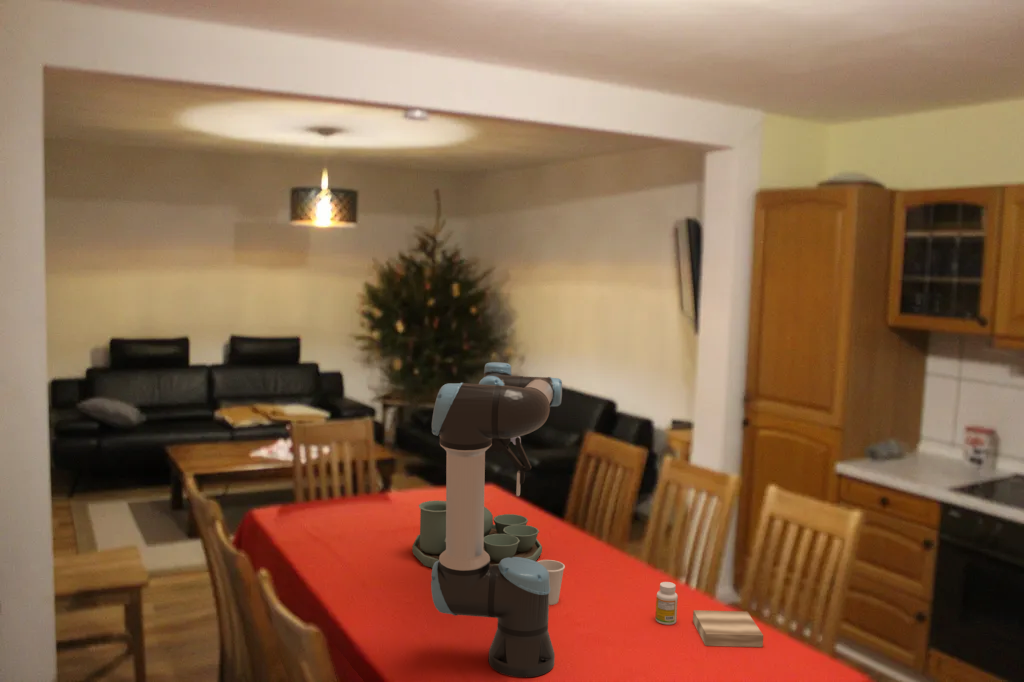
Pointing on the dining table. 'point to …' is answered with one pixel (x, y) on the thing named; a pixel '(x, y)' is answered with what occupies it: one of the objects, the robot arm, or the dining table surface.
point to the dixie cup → (554, 578)
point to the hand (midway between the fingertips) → (494, 493)
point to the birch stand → (727, 628)
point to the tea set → (499, 539)
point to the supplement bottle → (666, 604)
